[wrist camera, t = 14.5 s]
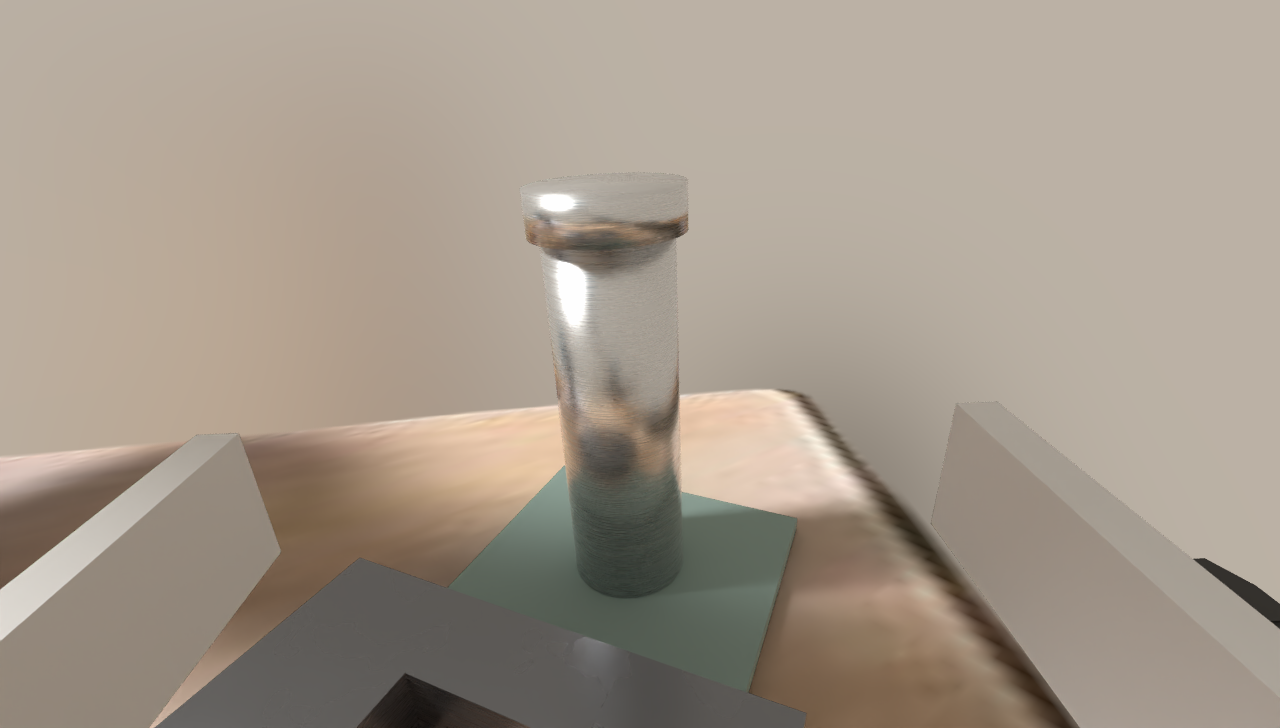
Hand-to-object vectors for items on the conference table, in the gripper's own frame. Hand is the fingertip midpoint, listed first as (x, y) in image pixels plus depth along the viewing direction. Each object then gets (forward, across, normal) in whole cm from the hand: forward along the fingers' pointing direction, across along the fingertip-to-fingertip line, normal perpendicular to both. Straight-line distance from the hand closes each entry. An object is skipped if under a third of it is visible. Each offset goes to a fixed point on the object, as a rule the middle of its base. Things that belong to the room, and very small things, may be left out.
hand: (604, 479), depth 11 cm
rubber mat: (+10, 0, -11) cm, 15 cm away
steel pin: (+10, 0, -11) cm, 15 cm away
